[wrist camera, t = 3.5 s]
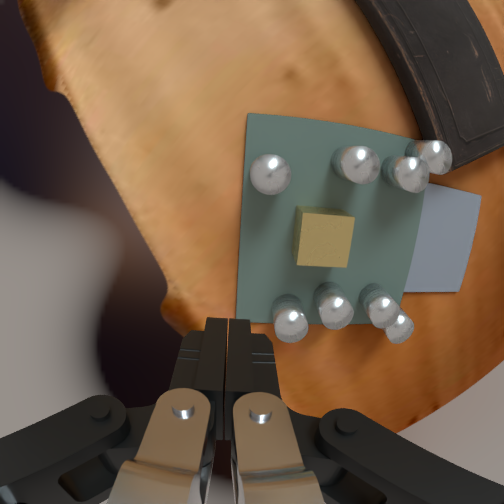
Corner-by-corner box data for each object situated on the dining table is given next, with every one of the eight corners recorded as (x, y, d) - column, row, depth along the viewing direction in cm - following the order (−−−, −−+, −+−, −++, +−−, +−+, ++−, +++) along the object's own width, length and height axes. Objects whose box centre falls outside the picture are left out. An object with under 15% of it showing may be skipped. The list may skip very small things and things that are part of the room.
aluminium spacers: (429, 143, 23) (453, 144, 20) (394, 322, 30) (408, 342, 26) (253, 113, 23) (254, 106, 19) (240, 321, 29) (239, 345, 26)
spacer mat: (427, 143, 24) (429, 143, 23) (392, 321, 30) (394, 322, 30) (247, 113, 23) (247, 113, 23) (235, 319, 30) (235, 321, 29)
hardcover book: (436, -27, 16) (445, -33, 13) (510, 136, 23) (522, 137, 20) (333, -25, 17) (340, -35, 15) (430, 172, 24) (443, 175, 22)
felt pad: (479, 195, 25) (481, 196, 25) (457, 290, 29) (458, 291, 29) (423, 181, 25) (425, 182, 25) (402, 290, 29) (403, 291, 29)
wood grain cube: (343, 209, 26) (355, 217, 23) (336, 254, 27) (346, 267, 24) (296, 205, 25) (302, 212, 22) (291, 252, 27) (296, 265, 24)
